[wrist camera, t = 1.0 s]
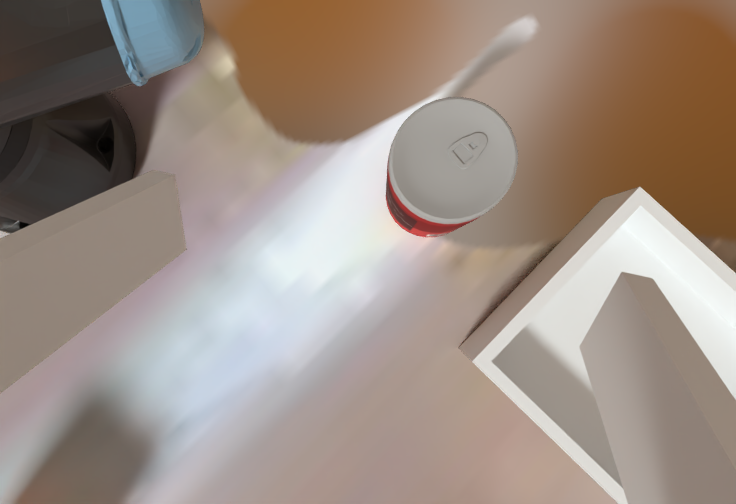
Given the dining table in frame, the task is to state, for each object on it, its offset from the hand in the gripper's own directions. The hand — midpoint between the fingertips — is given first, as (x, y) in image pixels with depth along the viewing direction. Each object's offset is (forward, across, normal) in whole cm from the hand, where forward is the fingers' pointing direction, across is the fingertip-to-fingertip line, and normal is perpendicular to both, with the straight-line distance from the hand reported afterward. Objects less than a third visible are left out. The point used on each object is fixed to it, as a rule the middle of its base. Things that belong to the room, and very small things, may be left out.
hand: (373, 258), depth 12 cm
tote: (+19, +19, -16) cm, 31 cm away
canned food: (+23, +1, -7) cm, 24 cm away
